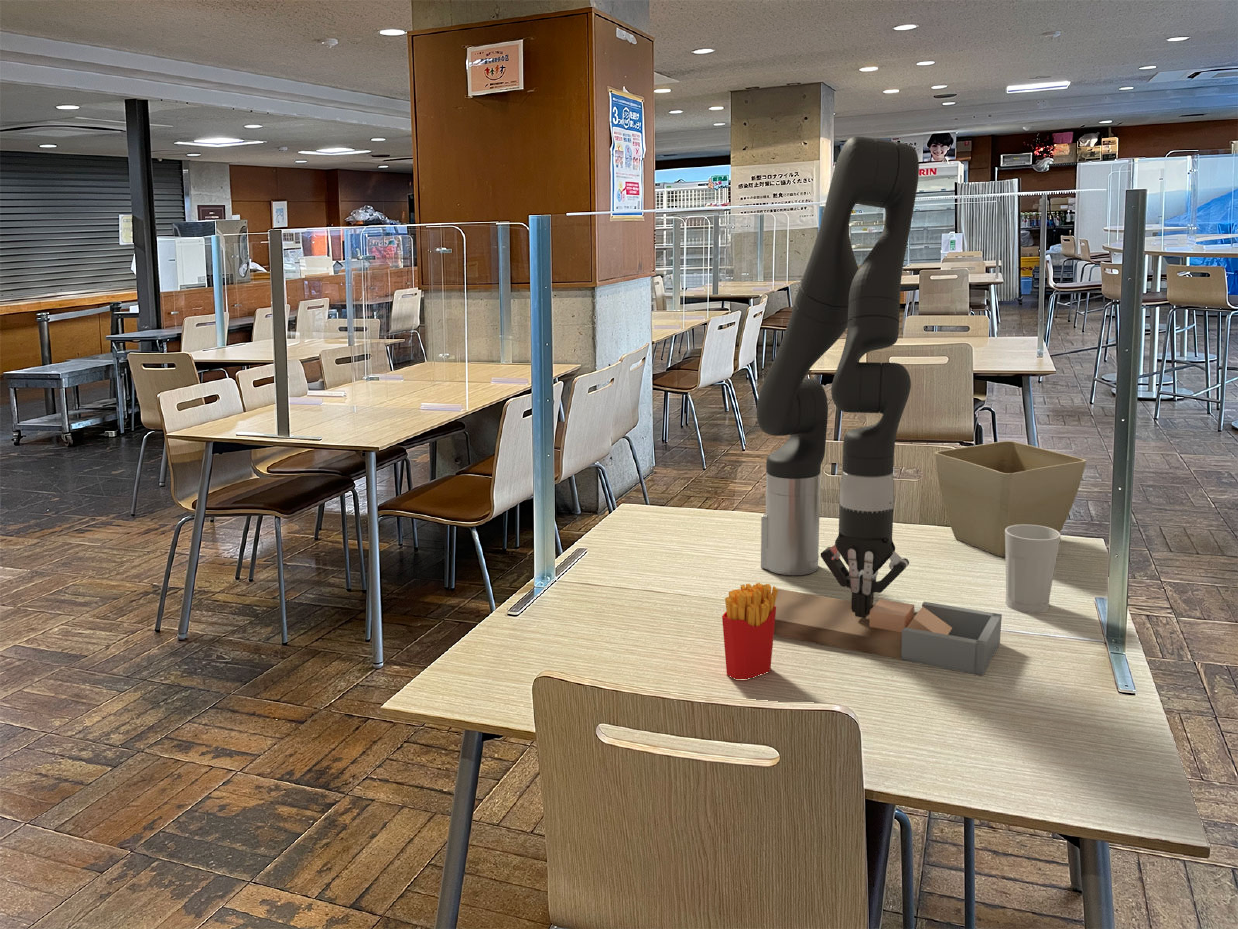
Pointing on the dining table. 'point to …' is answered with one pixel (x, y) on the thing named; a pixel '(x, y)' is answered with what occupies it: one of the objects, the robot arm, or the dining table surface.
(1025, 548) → the cup
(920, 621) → the tile
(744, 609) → the french fries
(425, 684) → the dining table surface
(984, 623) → the tray
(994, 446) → the flower pot
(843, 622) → the board
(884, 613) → the tile
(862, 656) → the dining table surface
